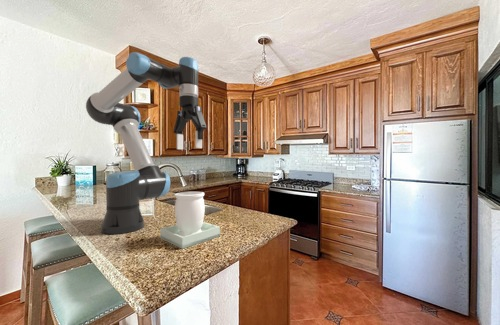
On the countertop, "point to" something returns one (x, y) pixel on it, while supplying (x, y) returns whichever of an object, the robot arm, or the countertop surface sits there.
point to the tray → (183, 242)
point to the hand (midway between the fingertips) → (189, 148)
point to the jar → (189, 212)
